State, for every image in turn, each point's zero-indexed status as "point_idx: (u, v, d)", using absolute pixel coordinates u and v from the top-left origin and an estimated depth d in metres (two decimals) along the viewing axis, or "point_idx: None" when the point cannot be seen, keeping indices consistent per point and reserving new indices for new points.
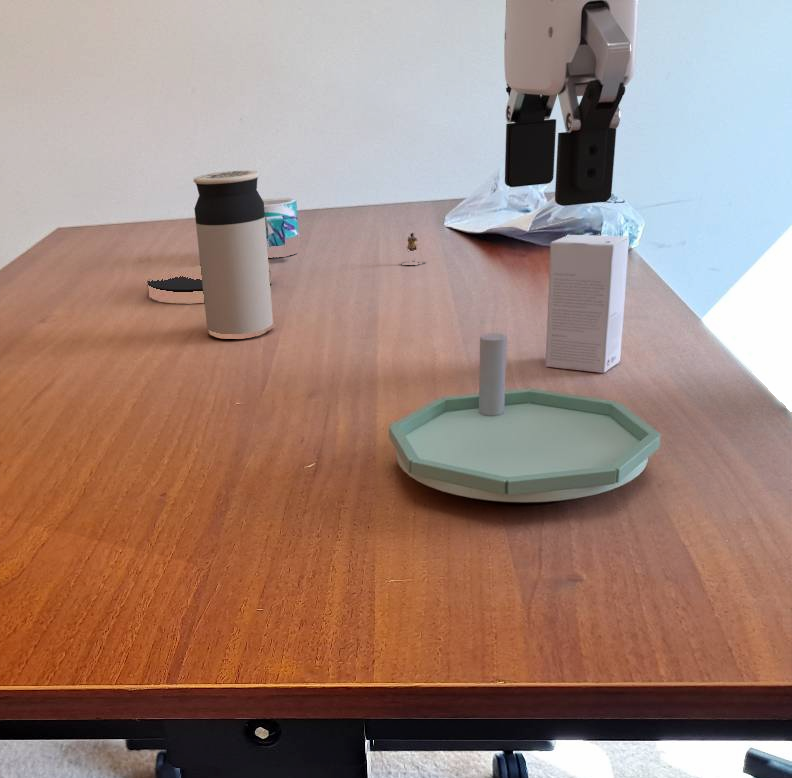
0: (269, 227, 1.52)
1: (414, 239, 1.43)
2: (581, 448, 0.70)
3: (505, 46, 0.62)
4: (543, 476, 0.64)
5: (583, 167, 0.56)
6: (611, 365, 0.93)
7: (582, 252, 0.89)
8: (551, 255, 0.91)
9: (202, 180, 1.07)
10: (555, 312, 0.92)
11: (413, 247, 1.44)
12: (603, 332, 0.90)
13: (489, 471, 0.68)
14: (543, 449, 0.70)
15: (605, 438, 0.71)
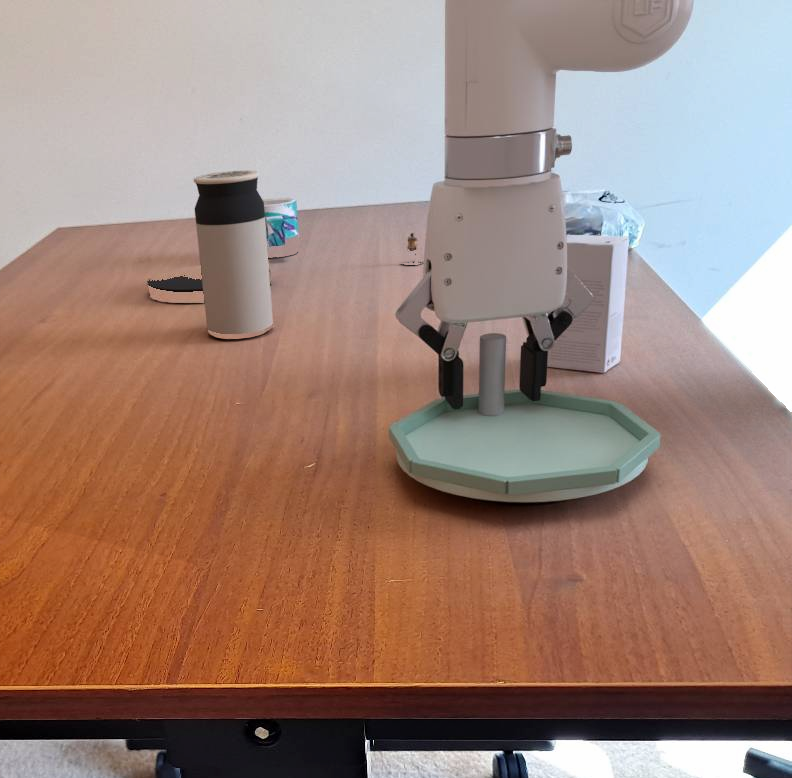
0: (269, 227, 1.52)
1: (414, 239, 1.43)
2: (581, 448, 0.70)
3: (448, 290, 0.72)
4: (544, 476, 0.64)
5: (545, 370, 0.77)
6: (611, 365, 0.93)
7: (582, 252, 0.89)
8: None
9: (202, 180, 1.07)
10: None
11: (413, 247, 1.44)
12: (603, 332, 0.90)
13: (489, 471, 0.68)
14: (544, 449, 0.70)
15: (605, 438, 0.71)
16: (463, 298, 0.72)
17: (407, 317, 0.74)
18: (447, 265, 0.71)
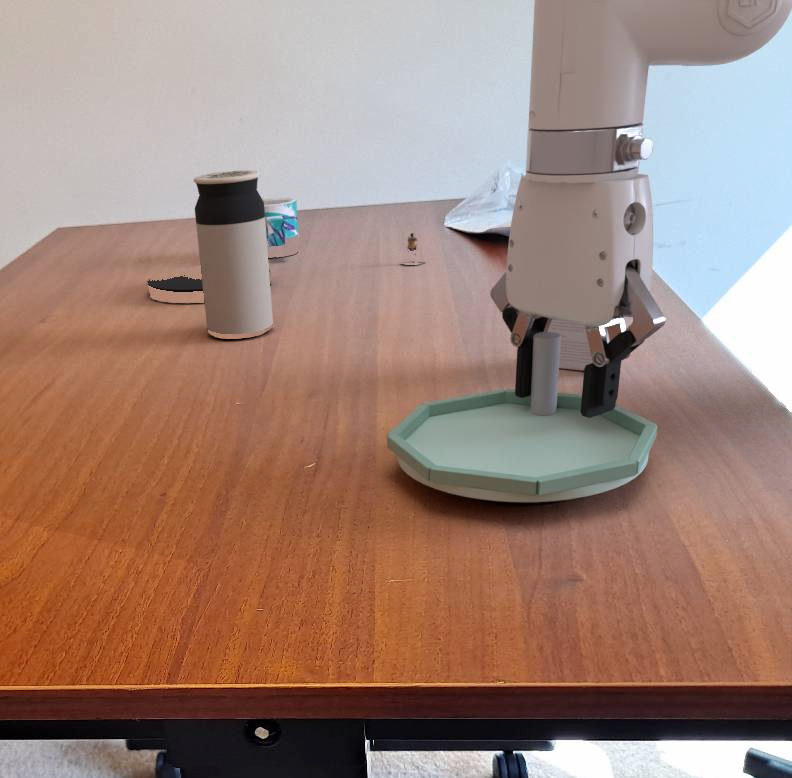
0: (269, 227, 1.52)
1: (414, 239, 1.43)
2: (563, 460, 0.68)
3: (510, 276, 0.73)
4: (466, 471, 0.66)
5: (607, 390, 0.71)
6: None
7: None
8: None
9: (202, 180, 1.07)
10: None
11: (413, 247, 1.44)
12: None
13: (450, 460, 0.70)
14: (529, 452, 0.70)
15: (601, 456, 0.68)
16: (520, 287, 0.73)
17: (496, 294, 0.77)
18: (511, 251, 0.73)
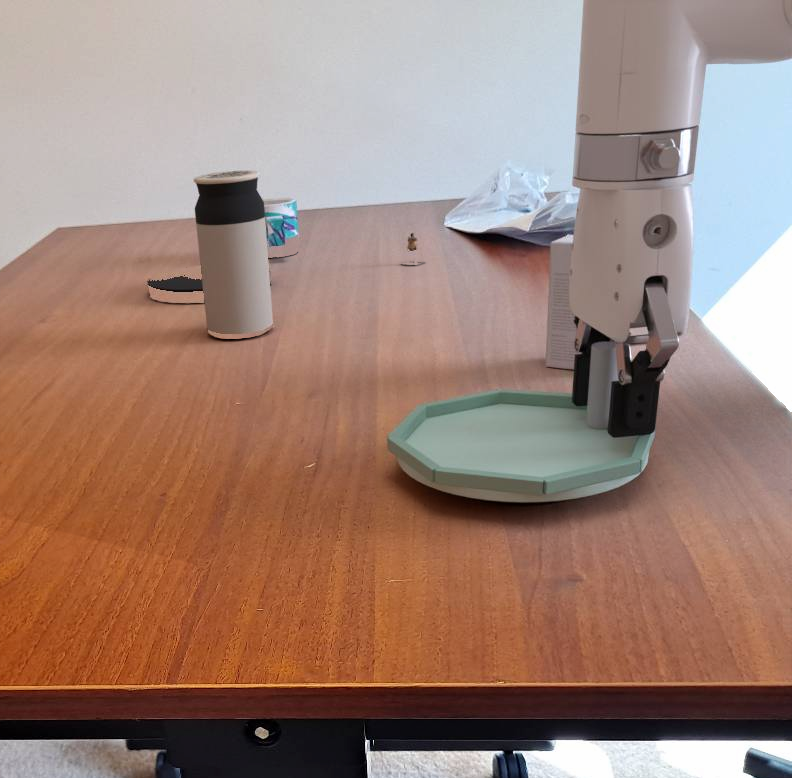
0: (269, 227, 1.52)
1: (414, 239, 1.43)
2: (517, 465, 0.68)
3: (570, 280, 0.71)
4: (404, 446, 0.71)
5: (633, 411, 0.67)
6: None
7: None
8: (551, 255, 0.91)
9: (202, 180, 1.07)
10: (555, 312, 0.92)
11: (413, 247, 1.44)
12: None
13: (438, 439, 0.74)
14: (506, 452, 0.71)
15: (554, 473, 0.67)
16: (575, 293, 0.71)
17: None
18: (572, 255, 0.71)
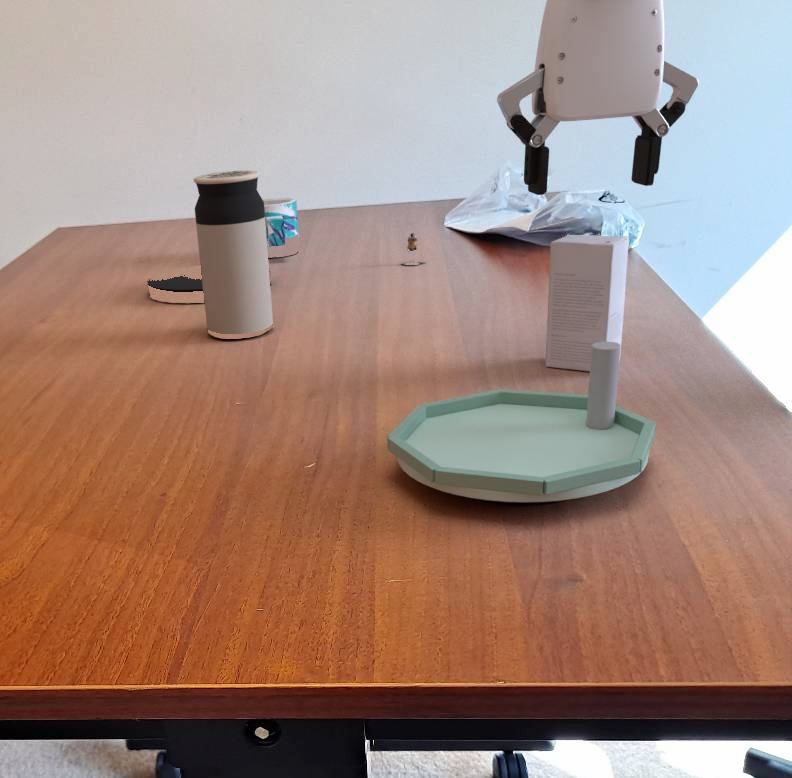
0: (269, 227, 1.52)
1: (414, 239, 1.43)
2: (517, 465, 0.68)
3: (560, 88, 0.82)
4: (404, 446, 0.71)
5: (657, 158, 0.87)
6: None
7: (582, 252, 0.89)
8: (551, 255, 0.91)
9: (202, 180, 1.07)
10: (555, 312, 0.92)
11: (413, 247, 1.44)
12: (603, 332, 0.90)
13: (438, 439, 0.74)
14: (506, 452, 0.71)
15: (554, 473, 0.67)
16: (572, 96, 0.82)
17: (509, 99, 0.84)
18: (560, 64, 0.81)
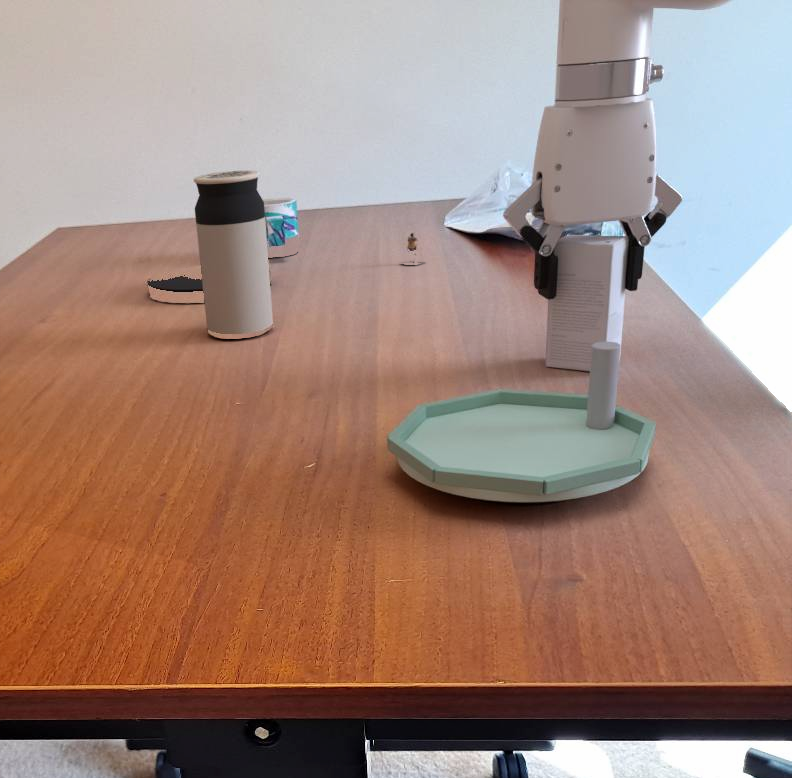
0: (269, 227, 1.52)
1: (414, 239, 1.43)
2: (517, 465, 0.68)
3: (557, 196, 0.86)
4: (404, 446, 0.71)
5: (641, 265, 0.91)
6: None
7: (582, 252, 0.89)
8: None
9: (202, 180, 1.07)
10: (555, 312, 0.92)
11: (413, 247, 1.44)
12: (603, 332, 0.90)
13: (438, 439, 0.74)
14: (506, 452, 0.71)
15: (554, 473, 0.67)
16: (569, 203, 0.86)
17: (515, 216, 0.88)
18: (557, 174, 0.85)
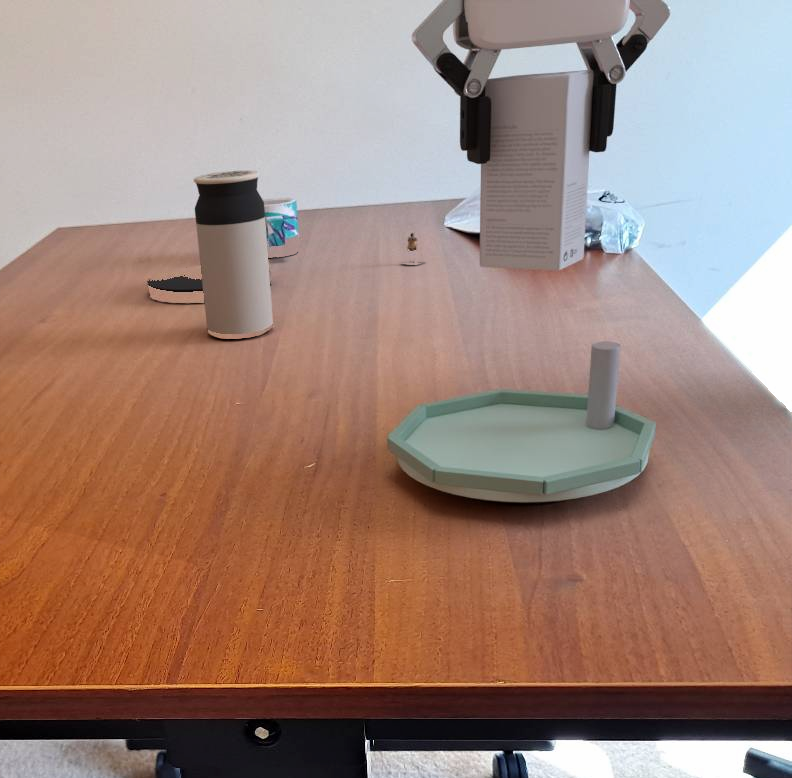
0: (269, 227, 1.52)
1: (414, 239, 1.43)
2: (517, 465, 0.68)
3: (486, 0, 0.58)
4: (404, 446, 0.71)
5: (611, 115, 0.63)
6: (570, 261, 0.66)
7: (525, 91, 0.61)
8: None
9: (202, 180, 1.07)
10: (491, 185, 0.65)
11: (413, 247, 1.44)
12: (557, 210, 0.63)
13: (438, 439, 0.74)
14: (506, 452, 0.71)
15: (554, 473, 0.67)
16: (504, 12, 0.59)
17: (427, 36, 0.60)
18: None
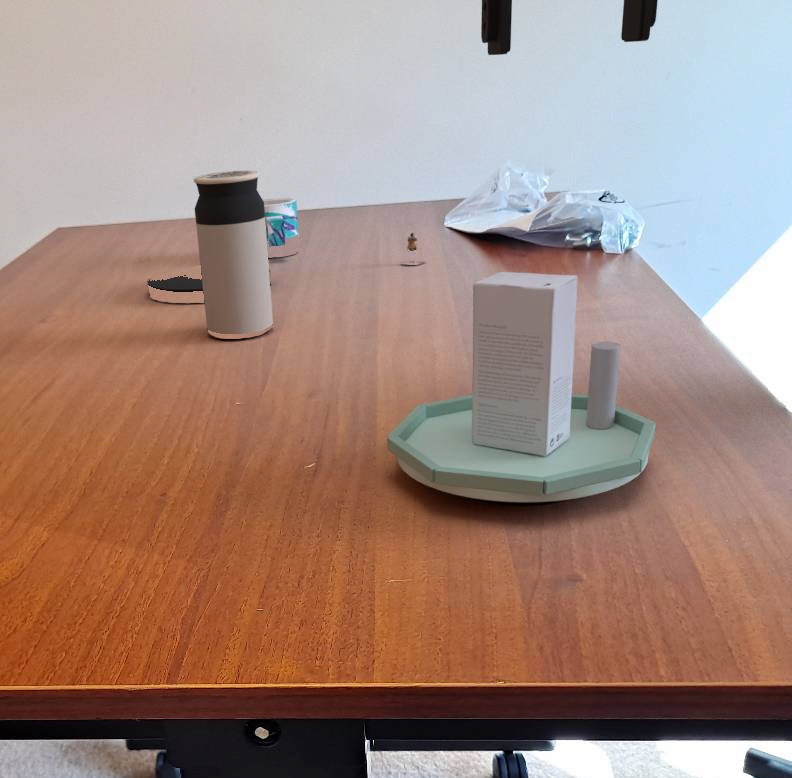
0: (269, 227, 1.52)
1: (414, 239, 1.43)
2: (517, 465, 0.68)
3: None
4: (404, 446, 0.71)
5: (654, 5, 0.67)
6: (556, 445, 0.70)
7: (514, 297, 0.66)
8: (474, 300, 0.68)
9: (202, 180, 1.07)
10: (482, 375, 0.70)
11: (413, 247, 1.44)
12: (543, 404, 0.67)
13: (438, 439, 0.74)
14: (506, 452, 0.71)
15: (554, 473, 0.67)
16: None
17: None
18: None
